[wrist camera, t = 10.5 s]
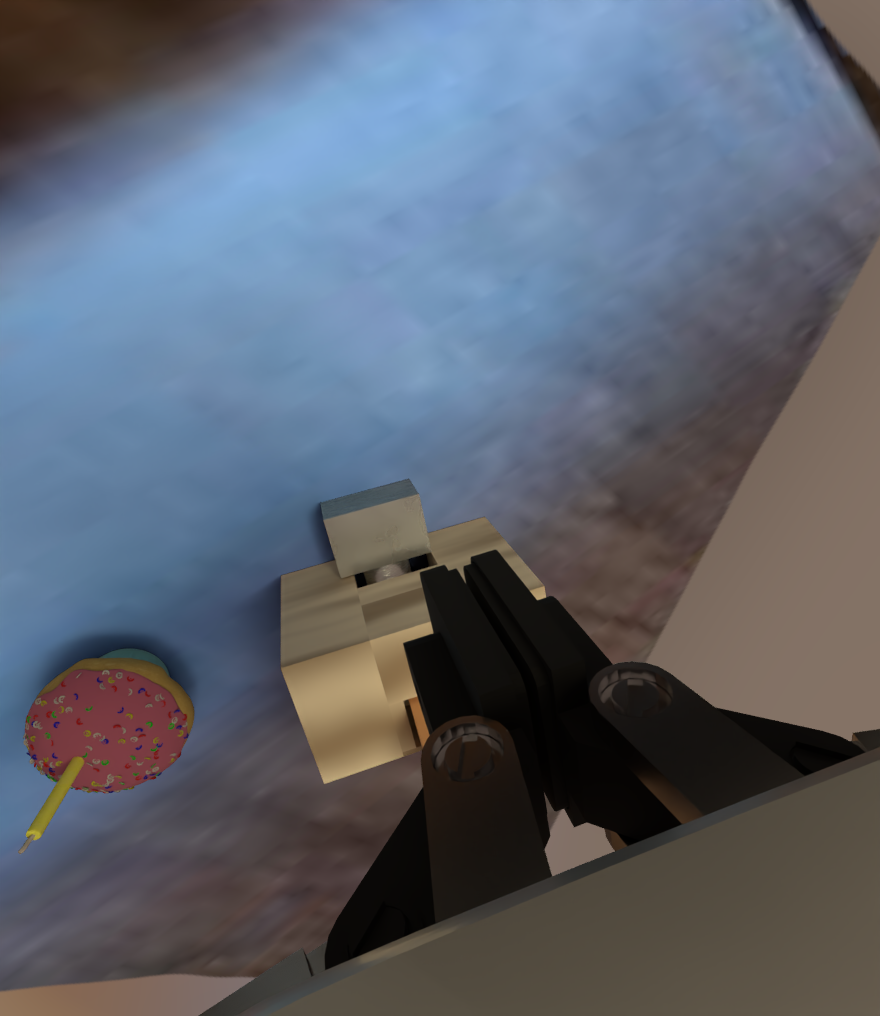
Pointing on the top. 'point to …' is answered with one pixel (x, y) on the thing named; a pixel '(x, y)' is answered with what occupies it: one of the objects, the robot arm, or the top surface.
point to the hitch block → (367, 650)
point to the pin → (377, 531)
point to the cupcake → (106, 727)
